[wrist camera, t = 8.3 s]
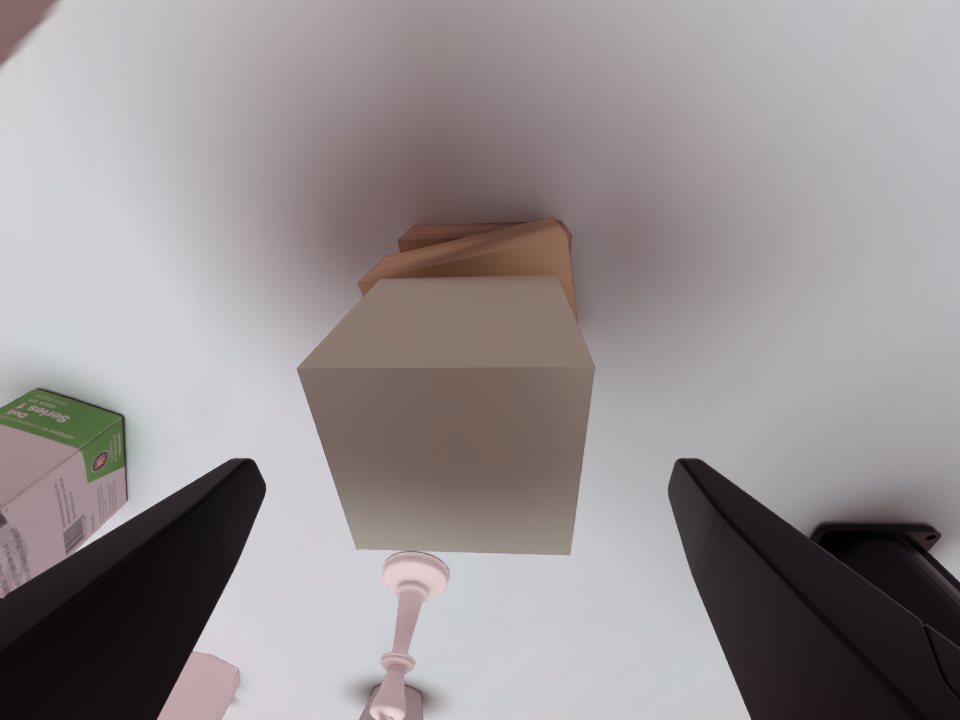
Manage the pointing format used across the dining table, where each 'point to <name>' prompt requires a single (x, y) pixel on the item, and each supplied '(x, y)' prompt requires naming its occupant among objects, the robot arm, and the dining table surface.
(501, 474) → the cube
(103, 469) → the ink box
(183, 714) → the mug
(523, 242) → the tower top
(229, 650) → the dining table surface
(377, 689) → the cup
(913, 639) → the robot arm
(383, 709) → the chess piece
